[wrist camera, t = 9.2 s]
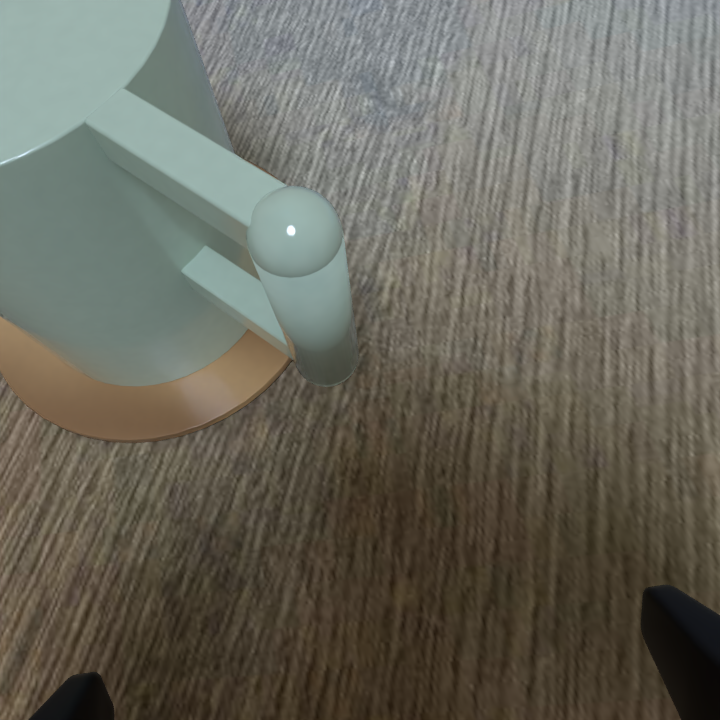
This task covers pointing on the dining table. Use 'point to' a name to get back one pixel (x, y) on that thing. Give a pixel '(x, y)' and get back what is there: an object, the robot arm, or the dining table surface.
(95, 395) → the coaster
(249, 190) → the jug
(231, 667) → the dining table surface
